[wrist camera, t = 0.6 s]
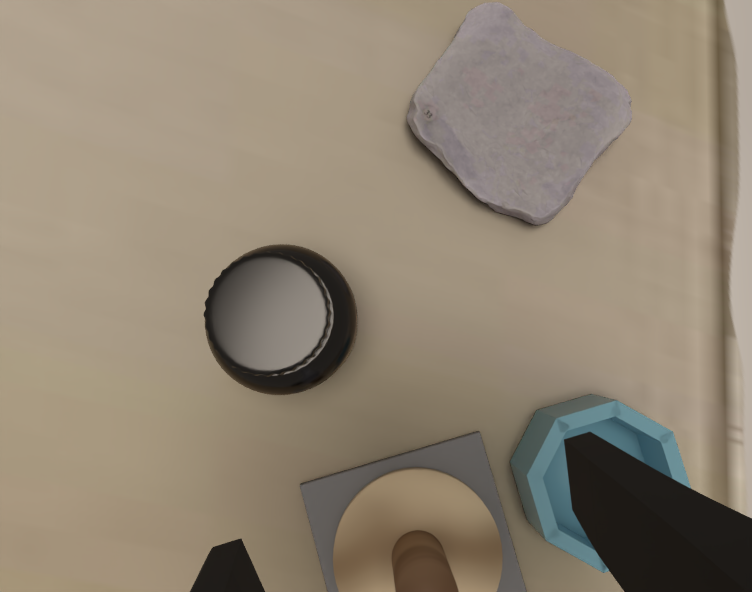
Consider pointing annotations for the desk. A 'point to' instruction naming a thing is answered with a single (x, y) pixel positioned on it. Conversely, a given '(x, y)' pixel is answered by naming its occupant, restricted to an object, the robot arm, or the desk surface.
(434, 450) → the mat
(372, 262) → the desk surface
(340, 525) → the lid
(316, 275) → the supplement bottle
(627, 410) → the bowl
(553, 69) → the stone block
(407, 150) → the desk surface
